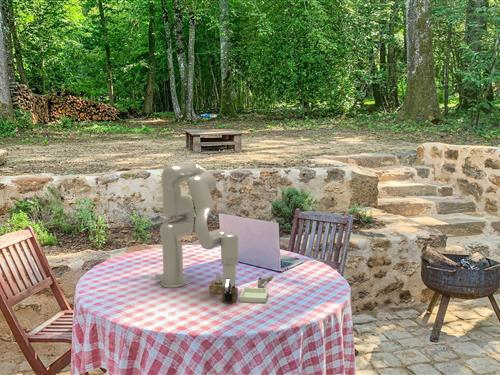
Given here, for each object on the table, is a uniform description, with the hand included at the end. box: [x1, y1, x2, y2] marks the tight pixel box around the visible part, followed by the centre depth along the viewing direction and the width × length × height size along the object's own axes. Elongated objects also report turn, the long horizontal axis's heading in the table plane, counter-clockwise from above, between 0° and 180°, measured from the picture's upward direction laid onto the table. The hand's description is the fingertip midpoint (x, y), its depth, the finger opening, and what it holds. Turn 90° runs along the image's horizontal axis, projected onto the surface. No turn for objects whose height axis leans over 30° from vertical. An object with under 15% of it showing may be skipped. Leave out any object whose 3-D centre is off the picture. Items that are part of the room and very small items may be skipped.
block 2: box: [221, 286, 239, 304], centre depth 222 cm, size 6×6×5 cm
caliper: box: [257, 275, 274, 288], centre depth 243 cm, size 20×1×6 cm, turn 158°
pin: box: [215, 273, 222, 285], centre depth 233 cm, size 2×2×8 cm
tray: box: [239, 286, 269, 305], centre depth 225 cm, size 12×12×2 cm
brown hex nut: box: [208, 279, 224, 295], centre depth 233 cm, size 7×7×4 cm
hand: (230, 297), depth 223 cm, fingers open, 7 cm apart
